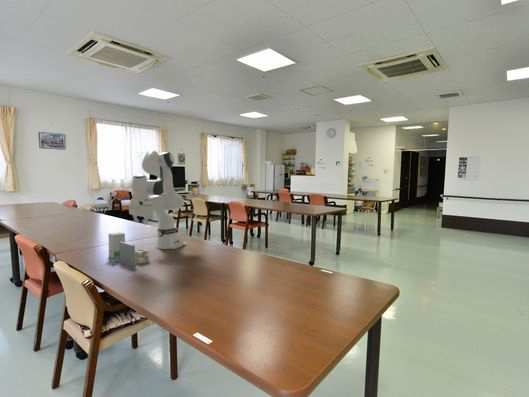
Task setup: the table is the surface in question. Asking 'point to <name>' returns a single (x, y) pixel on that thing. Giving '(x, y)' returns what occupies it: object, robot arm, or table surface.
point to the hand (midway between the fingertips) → (140, 223)
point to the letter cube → (141, 255)
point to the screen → (127, 254)
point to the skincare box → (115, 244)
